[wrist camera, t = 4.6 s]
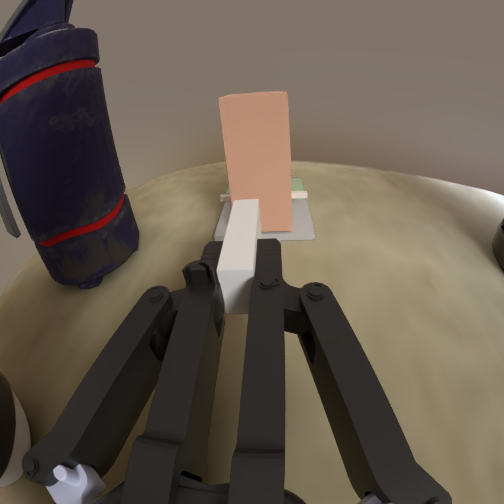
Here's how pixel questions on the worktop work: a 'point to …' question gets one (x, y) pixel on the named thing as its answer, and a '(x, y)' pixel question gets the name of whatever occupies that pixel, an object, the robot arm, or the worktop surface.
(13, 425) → the pump dispenser
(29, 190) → the navy red-striped canister
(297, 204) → the gauge base
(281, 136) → the tall salmon pillar
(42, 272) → the worktop surface
